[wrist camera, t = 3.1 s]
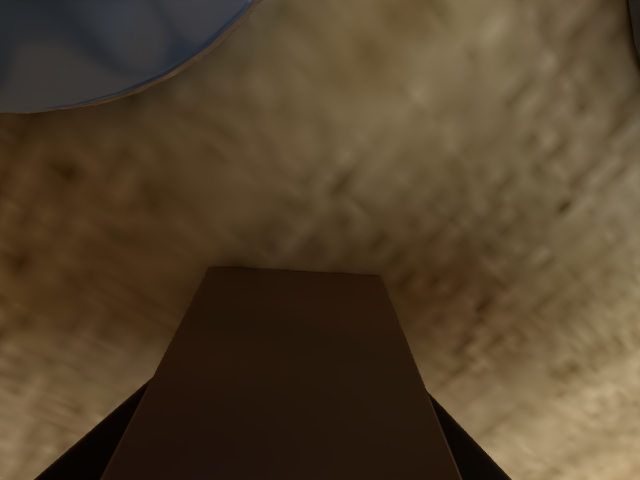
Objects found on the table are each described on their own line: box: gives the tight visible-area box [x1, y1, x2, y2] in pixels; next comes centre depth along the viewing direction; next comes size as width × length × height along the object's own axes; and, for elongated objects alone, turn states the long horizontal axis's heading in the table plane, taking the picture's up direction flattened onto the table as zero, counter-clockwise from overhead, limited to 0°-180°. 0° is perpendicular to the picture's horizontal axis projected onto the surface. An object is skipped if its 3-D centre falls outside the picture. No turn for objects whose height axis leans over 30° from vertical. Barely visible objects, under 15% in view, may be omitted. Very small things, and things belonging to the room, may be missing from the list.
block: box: [100, 267, 462, 480], centre depth 6 cm, size 4×4×5 cm
